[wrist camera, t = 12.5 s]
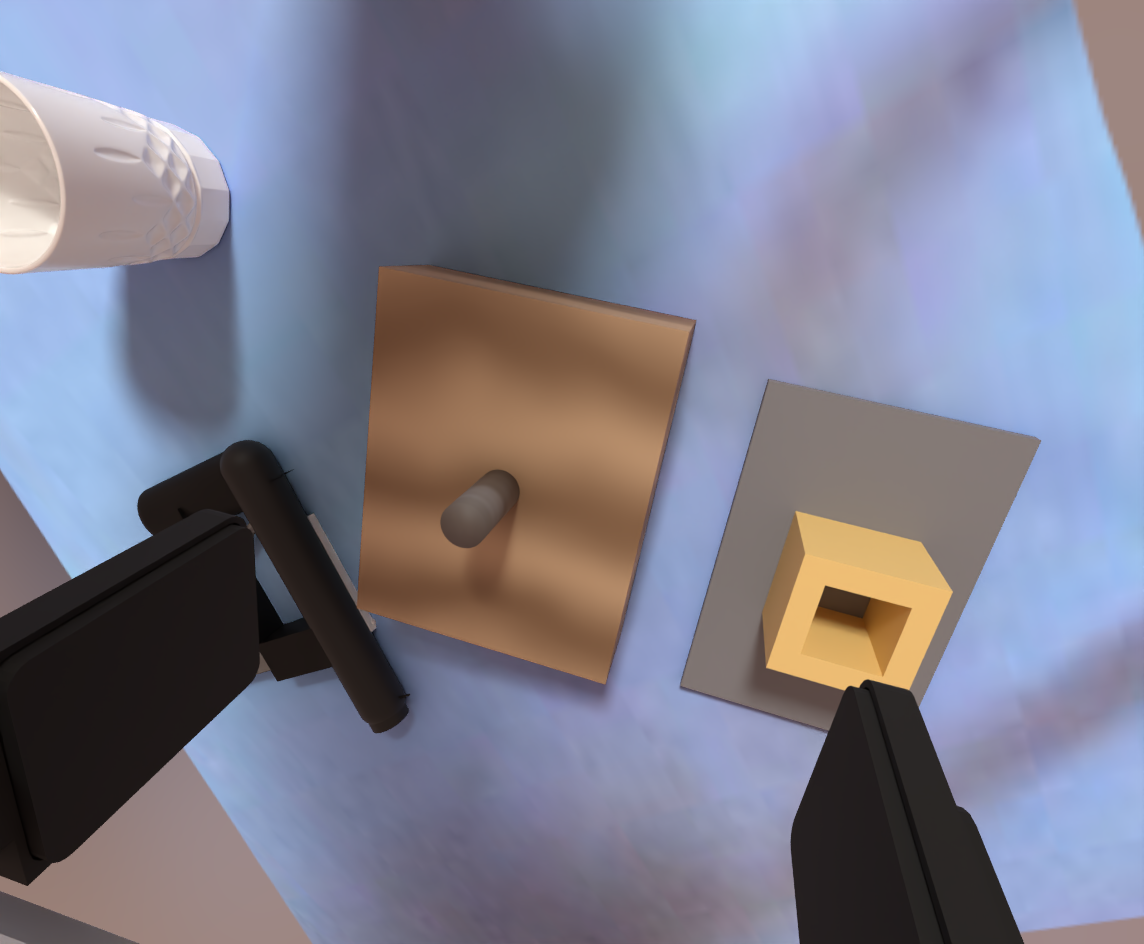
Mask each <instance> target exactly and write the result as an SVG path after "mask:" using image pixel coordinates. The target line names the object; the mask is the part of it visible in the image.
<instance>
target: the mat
mask: <svg viewBox="0 0 1144 944" xmlns="http://www.w3.org/2000/svg"><path fill="white" fill-rule="evenodd" d="M1040 442H1041V440H1039V439H1038V438H1036V437H1032V436H1028V435H1023V434H1019V433H1014V432H1009V431H1005V430H1000V429H996V428H991V427H987V426H982V425H977V424H973V423H968V422H964V421H959V420H954V419H950V418H945V417H941V416H936V415H932V414H927V413H922V412H918V411H913V410H909V409H904V408H899V407H895V406H890V405H886V404H881V403H877V402H872V401H867V400H863V399H858V398H854V397H849V396H844V395H840V394H835V393H831V392H826V391H822V390H817V389H812V388H808V387H803V386H799V385H794V384H789V383H785V382H780V381H776V380H771V379H768V382H767V385H766V389H765V392H764V396H763V399H762V403H761V406H760V410H759V413H758V416H757V420H756V423H755V427H754V430H753V434H752V437H751V441H750V444H749V448H748V451H747V454H746V458H745V461H744V465H743V468H742V472H741V475H740V479H739V482H738V486H737V489H736V492H735V496H734V499H733V503H732V506H731V510H730V513H729V517H728V520H727V524H726V527H725V531H724V534H723V537H722V541H721V544H720V548H719V551H718V555H717V558H716V562H715V565H714V569H713V572H712V575H711V579H710V582H709V586H708V589H707V593H706V596H705V600H704V603H703V607H702V610H701V613H700V617H699V620H698V624H697V627H696V631H695V634H694V638H693V641H692V645H691V648H690V651H689V655H688V658H687V662H686V665H685V669H684V672H683V676H682V679H681V686H682V687H685V688H689V689H692V690H695V691H699V692H702V693H705V694H709V695H712V696H715V697H718V698H722V699H725V700H728V701H732V702H735V703H738V704H742V705H745V706H748V707H752V708H755V709H758V710H762V711H765V712H768V713H772V714H775V715H778V716H782V717H785V718H788V719H792V720H795V721H798V722H802V723H805V724H808V725H811V726H815V727H818V728H821V729H825V730H828V731H829V729H830V727H831V724H832V722H833V719H834V717H835V714H836V711H837V709H838V706H839V704H840V701H841V699H842V696H843V694H844V692H845V690H842V689H838V688H835V687H831V686H828V685H824V684H821V683H817V682H814V681H810V680H807V679H804V678H800V677H797V676H793V675H790V674H786V673H783V672H779V671H776V670H772V669H769V668H766V659H765V645H764V630H763V616H762V611H763V608H764V605H765V602H766V599H767V596H768V593H769V590H770V587H771V584H772V581H773V578H774V575H775V572H776V569H777V566H778V563H779V560H780V557H781V554H782V550H783V547H784V544H785V541H786V538H787V535H788V532H789V529H790V526H791V523H792V520H793V517H794V514H795V511H798V512H802V513H806V514H810V515H814V516H818V517H822V518H826V519H830V520H834V521H838V522H842V523H846V524H850V525H854V526H858V527H862V528H866V529H870V530H874V531H878V532H882V533H886V534H891V535H895V536H899V537H903V538H907V539H911V540H915V541H919V542H921V543H922V544H923V546H924V547H925V549H926V551H927V552H928V554H929V555H930V557H931V558H932V560H933V561H934V563H935V565H936V566H937V568H938V569H939V571H940V572H941V574H942V576H943V577H944V579H945V580H946V582H947V583H948V585H949V587H950V588H951V590H952V591H953V593H952V595H951V597H950V600H949V602H948V604H947V606H946V609H945V611H944V613H943V615H942V617H941V620H940V622H939V624H938V626H937V629H936V631H935V633H934V635H933V638H932V640H931V642H930V644H929V647H928V649H927V651H926V653H925V656H924V658H923V660H922V662H921V665H920V667H919V669H918V671H917V673H916V676H915V678H914V680H913V682H912V685H911V687H910V689H909V691H911V692H912V694H913V695H914V697H915V700H916V702H917V705H918V708H919V706H920V703H921V701H922V699H923V697H924V695H925V693H926V690H927V688H928V686H929V684H930V682H931V679H932V677H933V675H934V673H935V671H936V669H937V666H938V664H939V662H940V660H941V658H942V656H943V653H944V651H945V649H946V647H947V645H948V642H949V640H950V638H951V636H952V634H953V632H954V629H955V627H956V625H957V623H958V621H959V619H960V616H961V614H962V612H963V610H964V608H965V605H966V603H967V601H968V599H969V597H970V595H971V592H972V590H973V588H974V586H975V584H976V582H977V579H978V577H979V575H980V573H981V571H982V568H983V566H984V564H985V562H986V560H987V558H988V555H989V553H990V551H991V549H992V547H993V545H994V542H995V540H996V538H997V536H998V534H999V531H1000V529H1001V527H1002V525H1003V523H1004V521H1005V518H1006V516H1007V514H1008V512H1009V510H1010V508H1011V505H1012V503H1013V501H1014V499H1015V497H1016V494H1017V492H1018V490H1019V488H1020V486H1021V484H1022V481H1023V479H1024V477H1025V475H1026V473H1027V471H1028V468H1029V466H1030V464H1031V462H1032V460H1033V457H1034V455H1035V453H1036V451H1037V449H1038V447H1039V444H1040ZM870 599H871V597H867V596H863V595H860V594H856V593H852V592H848V591H845V590H841V589H837V588H833V587H829V586H826V585H825V587H824V590H823V593H822V595H821V598H820V601H819V604H818V606H819V607H822V608H826V609H830V610H833V611H837V612H841V613H844V614H848V615H852V616H855V617H859V618H863V616H864V614H865V611H866V609H867V606H868V604H869V601H870Z"/></svg>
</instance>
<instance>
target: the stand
mask: <svg viewBox="0 0 1144 944" xmlns="http://www.w3.org/2000/svg"><path fill="white" fill-rule="evenodd" d="M695 324H696V320H692V319H688V318H683V317H678V316H673V315H668V314H664V313H659V312H654V311H649V310H644V309H639V308H635V307H630V306H625V305H620V304H615V303H610V302H606V301H601V300H596V299H591V298H586V297H582V296H577V295H572V294H567V293H562V292H557V291H553V290H548V289H543V288H538V287H533V286H528V285H524V284H519V283H514V282H509V281H504V280H499V279H495V278H490V277H485V276H480V275H475V274H471V273H466V272H461V271H456V270H451V269H446V268H442V267H437V266H432V265H408V266H380V267H379V275H378V290H377V305H376V320H375V336H374V351H373V366H372V382H371V397H370V412H369V427H368V443H367V458H366V473H365V489H364V504H363V519H362V534H361V550H360V565H359V580H358V596H357V609H361V610H364V611H367V612H370V613H374V614H377V615H380V616H383V617H387V618H390V619H393V620H397V621H400V622H403V623H406V624H410V625H413V626H416V627H419V628H423V629H426V630H429V631H432V632H436V633H439V634H442V635H445V636H449V637H452V638H455V639H459V640H462V641H465V642H468V643H472V644H475V645H478V646H481V647H485V648H488V649H491V650H494V651H498V652H501V653H504V654H507V655H511V656H514V657H517V658H520V659H524V660H527V661H530V662H534V663H537V664H540V665H543V666H547V667H550V668H553V669H556V670H560V671H563V672H566V673H569V674H573V675H576V676H579V677H582V678H586V679H589V680H592V681H596V682H599V683H602V684H606V681H607V677H608V674H609V671H610V667H611V664H612V661H613V658H614V654H615V651H616V648H617V645H618V641H619V638H620V635H621V631H622V627H623V623H624V619H625V615H626V611H627V606H628V602H629V598H630V594H631V590H632V586H633V582H634V577H635V573H636V569H637V565H638V561H639V557H640V552H641V548H642V544H643V540H644V536H645V532H646V528H647V523H648V519H649V515H650V511H651V507H652V503H653V498H654V494H655V490H656V486H657V482H658V478H659V474H660V469H661V465H662V461H663V457H664V453H665V449H666V445H667V440H668V436H669V432H670V428H671V424H672V420H673V415H674V411H675V407H676V403H677V399H678V395H679V391H680V386H681V382H682V378H683V374H684V370H685V366H686V361H687V357H688V353H689V349H690V345H691V341H692V337H693V332H694V328H695Z"/></svg>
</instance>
